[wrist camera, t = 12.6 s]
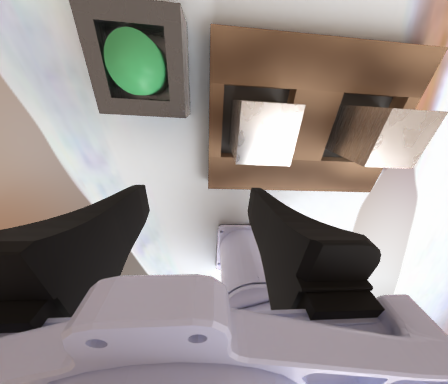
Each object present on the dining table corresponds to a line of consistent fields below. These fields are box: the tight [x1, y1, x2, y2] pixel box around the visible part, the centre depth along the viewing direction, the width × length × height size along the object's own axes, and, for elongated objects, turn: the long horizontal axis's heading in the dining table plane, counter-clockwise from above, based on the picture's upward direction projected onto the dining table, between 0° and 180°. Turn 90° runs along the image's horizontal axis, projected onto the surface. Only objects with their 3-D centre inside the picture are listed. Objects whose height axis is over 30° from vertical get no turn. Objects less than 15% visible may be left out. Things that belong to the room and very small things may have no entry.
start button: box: [104, 27, 168, 95], centre depth 14 cm, size 4×4×3 cm
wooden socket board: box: [208, 24, 448, 192], centre depth 18 cm, size 14×20×2 cm
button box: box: [69, 0, 190, 118], centre depth 14 cm, size 7×7×4 cm
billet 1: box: [229, 99, 306, 166], centre depth 15 cm, size 4×4×6 cm
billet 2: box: [325, 105, 448, 169], centre depth 16 cm, size 4×4×6 cm
